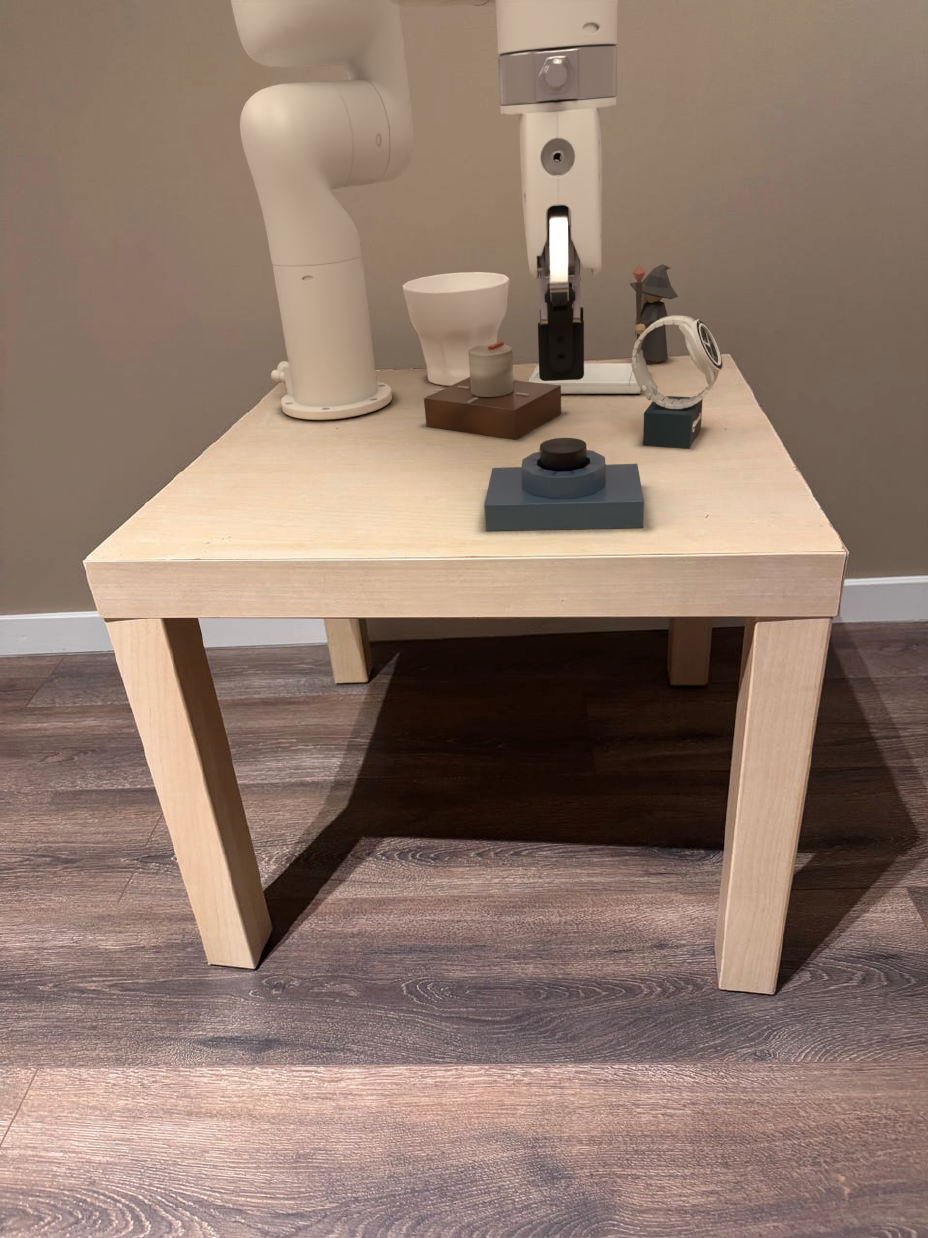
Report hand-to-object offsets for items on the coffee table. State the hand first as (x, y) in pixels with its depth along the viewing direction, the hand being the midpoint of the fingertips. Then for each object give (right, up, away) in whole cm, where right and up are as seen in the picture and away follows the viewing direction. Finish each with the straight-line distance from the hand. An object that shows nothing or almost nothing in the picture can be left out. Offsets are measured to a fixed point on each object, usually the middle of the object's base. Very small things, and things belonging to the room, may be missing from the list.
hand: (561, 368), depth 67 cm
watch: (+13, -2, +19) cm, 23 cm away
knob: (-4, +5, +26) cm, 26 cm away
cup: (-7, +11, +43) cm, 45 cm away
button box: (+1, -10, +6) cm, 11 cm away
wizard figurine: (+16, +12, +42) cm, 47 cm away
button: (+1, -7, +4) cm, 8 cm away
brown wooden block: (-4, +2, +27) cm, 28 cm away
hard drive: (+7, +8, +36) cm, 38 cm away
